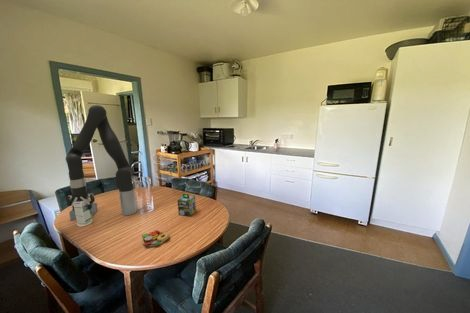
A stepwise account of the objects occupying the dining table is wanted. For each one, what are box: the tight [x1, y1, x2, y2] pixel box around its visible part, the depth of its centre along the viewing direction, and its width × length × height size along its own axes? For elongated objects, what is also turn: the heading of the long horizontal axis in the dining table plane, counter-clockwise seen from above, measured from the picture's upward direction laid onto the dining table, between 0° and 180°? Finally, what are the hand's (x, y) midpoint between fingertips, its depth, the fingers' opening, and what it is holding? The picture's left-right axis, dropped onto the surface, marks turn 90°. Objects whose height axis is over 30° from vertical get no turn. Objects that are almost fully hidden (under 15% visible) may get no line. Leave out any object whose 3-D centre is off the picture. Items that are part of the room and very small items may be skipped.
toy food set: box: [141, 229, 171, 247], centre depth 106 cm, size 13×13×3 cm
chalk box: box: [177, 193, 197, 217], centre depth 135 cm, size 9×9×15 cm
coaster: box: [76, 219, 94, 228], centre depth 123 cm, size 8×8×1 cm
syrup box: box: [72, 199, 93, 224], centre depth 122 cm, size 6×6×14 cm
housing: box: [68, 201, 99, 221], centre depth 133 cm, size 11×11×6 cm
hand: (82, 210), depth 122 cm, fingers closed on syrup box, 7 cm apart
